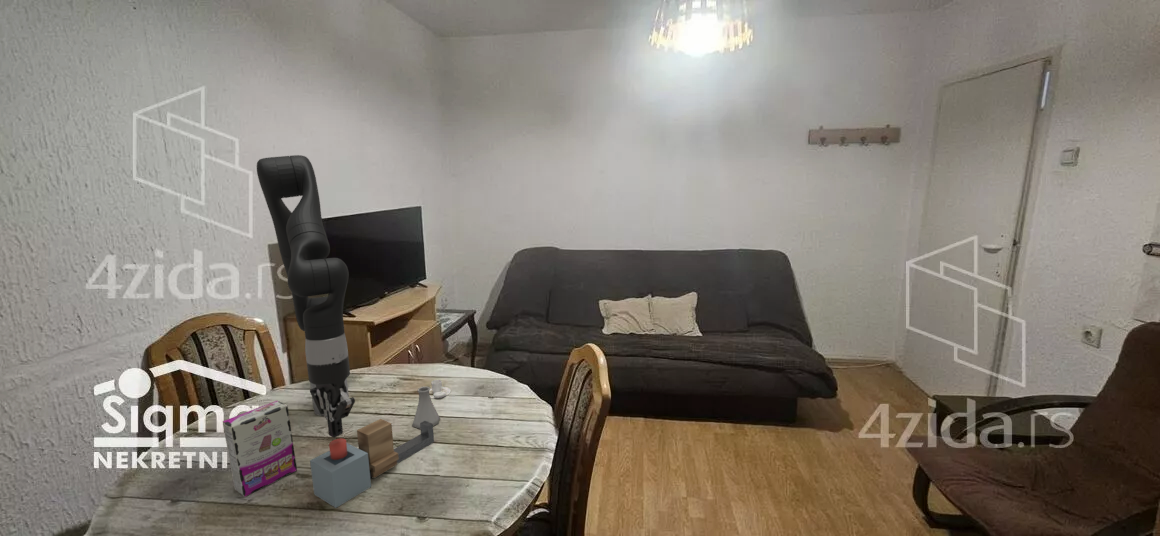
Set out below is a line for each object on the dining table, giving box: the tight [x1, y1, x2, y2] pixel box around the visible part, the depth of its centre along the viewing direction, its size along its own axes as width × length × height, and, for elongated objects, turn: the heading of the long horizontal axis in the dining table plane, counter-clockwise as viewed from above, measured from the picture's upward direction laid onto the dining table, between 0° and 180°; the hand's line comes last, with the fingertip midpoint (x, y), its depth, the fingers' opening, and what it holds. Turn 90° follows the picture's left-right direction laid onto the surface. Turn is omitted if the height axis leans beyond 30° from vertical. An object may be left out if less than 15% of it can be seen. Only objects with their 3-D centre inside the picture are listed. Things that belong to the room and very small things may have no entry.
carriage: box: [356, 418, 399, 479], centre depth 109 cm, size 7×6×10 cm
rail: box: [370, 421, 435, 480], centre depth 114 cm, size 3×20×5 cm, turn 148°
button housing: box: [309, 442, 372, 509], centre depth 102 cm, size 8×8×8 cm
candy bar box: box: [222, 400, 298, 497], centre depth 105 cm, size 11×5×16 cm, turn 148°
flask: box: [411, 386, 441, 430], centre depth 130 cm, size 7×7×10 cm
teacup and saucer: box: [429, 379, 452, 399], centre depth 149 cm, size 9×8×4 cm
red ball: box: [328, 437, 347, 460], centre depth 101 cm, size 3×3×3 cm
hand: (336, 434), depth 100 cm, fingers closed
